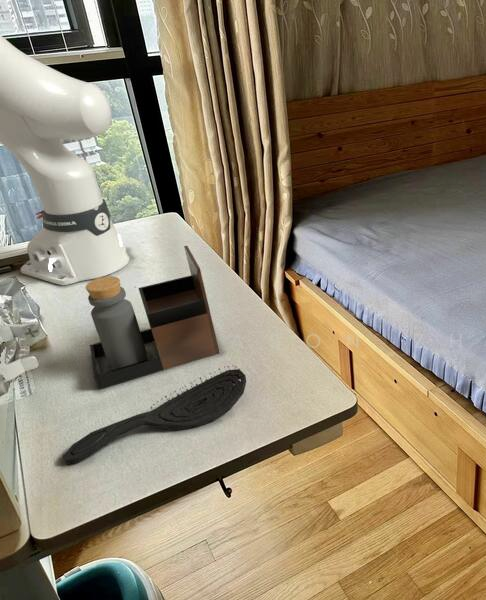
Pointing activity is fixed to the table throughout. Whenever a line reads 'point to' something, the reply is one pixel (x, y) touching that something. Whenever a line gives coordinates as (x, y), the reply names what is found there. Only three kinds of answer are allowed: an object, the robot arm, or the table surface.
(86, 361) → the table surface
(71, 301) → the table surface
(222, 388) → the hairbrush
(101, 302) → the bottle
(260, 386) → the table surface
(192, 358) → the bottle rack
